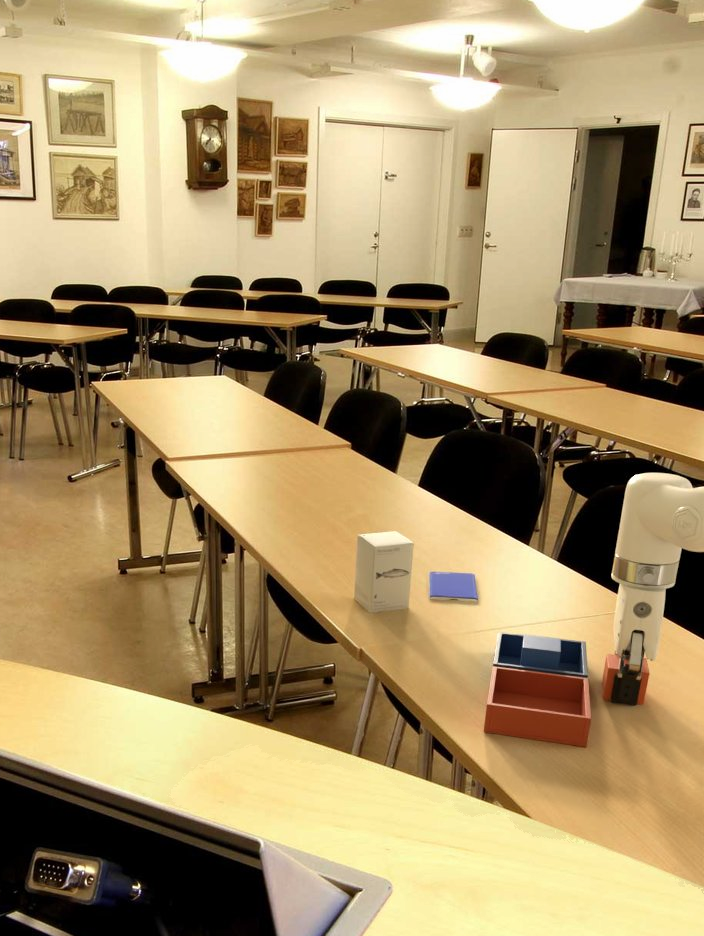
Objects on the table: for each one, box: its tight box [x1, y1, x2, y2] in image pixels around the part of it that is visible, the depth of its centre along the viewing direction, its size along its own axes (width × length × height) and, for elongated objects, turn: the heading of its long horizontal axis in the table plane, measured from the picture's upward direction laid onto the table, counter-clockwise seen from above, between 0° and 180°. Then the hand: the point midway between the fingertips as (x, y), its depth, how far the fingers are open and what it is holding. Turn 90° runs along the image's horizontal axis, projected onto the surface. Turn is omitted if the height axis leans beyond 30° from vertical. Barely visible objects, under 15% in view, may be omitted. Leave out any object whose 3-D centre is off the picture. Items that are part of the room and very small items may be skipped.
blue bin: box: [492, 631, 589, 679], centre depth 131 cm, size 12×12×4 cm
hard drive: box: [428, 571, 479, 603], centre depth 164 cm, size 2×8×12 cm
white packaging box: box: [353, 530, 415, 614], centre depth 156 cm, size 7×7×13 cm
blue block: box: [520, 634, 562, 670], centre depth 130 cm, size 5×5×5 cm
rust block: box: [601, 653, 650, 706], centre depth 124 cm, size 5×5×5 cm
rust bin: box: [483, 665, 592, 748], centre depth 119 cm, size 12×12×4 cm
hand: (622, 693), depth 125 cm, fingers closed on rust block, 5 cm apart
